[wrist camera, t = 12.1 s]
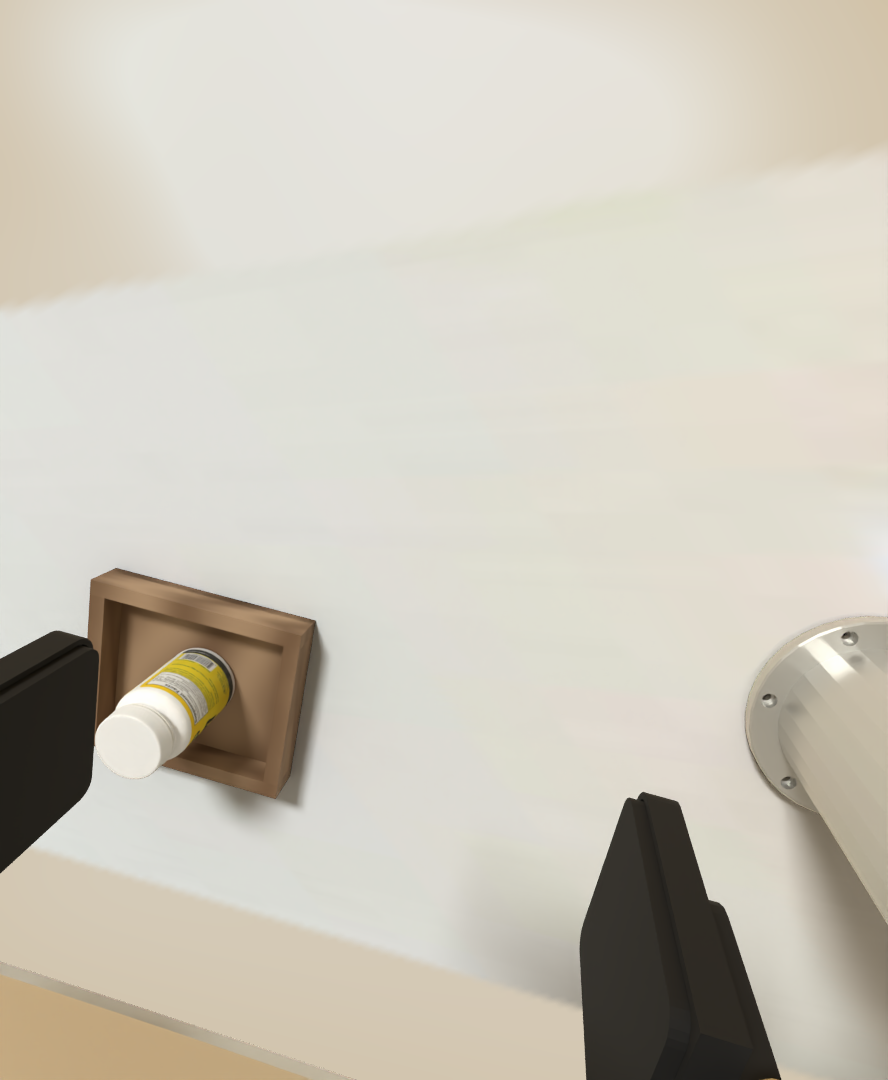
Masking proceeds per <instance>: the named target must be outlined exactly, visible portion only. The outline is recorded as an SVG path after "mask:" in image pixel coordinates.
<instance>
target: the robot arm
mask: <svg viewBox="0 0 888 1080" xmlns="http://www.w3.org/2000/svg"><path fill="white" fill-rule="evenodd" d="M846 632H847V633H846ZM844 633H846V635H844V636H842V635H843V634H844ZM98 672H99V654H98V651H96V650H95V649H93V645H92V642H91V641H90V640H89V639H87V638H84V637H80V636H76V635H73V634H69V633H65V632H62V631H53V632H50V633H48V634H46V635H45V636H43V637H41V638H39V639H37V640H35V641H33V642H31V643H29V644H28V645H26V646H24V647H22V648H20V649H18V650H16V651H14V652H12V653H10V654H9V655H7V656H5V657H3V658H1V659H0V873H1V872H2V871H3V870H5V868H7V867H8V866H9V865H10V864H11V863H12V862H13V861H14V860H15V859H16V858H17V857H19V856H20V855H21V854H22V853H23V852H24V851H25V850H26V849H27V848H28V847H30V846H31V845H32V844H33V843H34V842H35V841H36V840H37V839H38V838H39V837H40V836H42V835H43V834H44V833H45V832H46V831H47V830H48V829H49V828H50V827H51V826H52V825H54V824H55V823H56V822H57V821H58V820H59V819H60V818H61V817H62V816H63V815H64V814H66V813H67V812H68V811H69V810H70V809H71V808H72V807H73V806H74V805H75V804H76V803H77V802H79V801H80V800H81V798H82V797H83V796H84V795H85V793H86V792H87V790H88V788H89V786H90V783H91V779H92V767H93V751H94V735H95V719H96V703H97V687H98ZM766 694H768V695H767V696H765V697H763V696H764V695H766ZM745 725H746V734H747V738H748V742H749V746H750V749H751V751H752V753H753V755H754V757H755V759H756V762H757V764H758V765H759V767H760V768H761V770H762V771H763V773H764V775H765V776H766V778H767V779H768V780H769V781H770V782H771V784H772V785H773V786H774V787H775V788H776V789H777V790H778V791H779V792H780V793H782V794H783V795H785V796H786V797H787V798H789V799H790V800H792V801H793V802H795V803H796V804H798V805H800V806H802V807H804V808H806V809H809V810H811V811H813V812H815V813H818V814H820V815H821V816H822V818H823V820H824V821H825V823H826V825H827V826H828V828H829V830H830V831H831V833H832V834H833V836H834V838H835V839H836V841H837V843H838V844H839V846H840V848H841V849H842V851H843V853H844V854H845V856H846V857H847V859H848V861H849V862H850V864H851V866H852V867H853V869H854V871H855V872H856V874H857V875H858V877H859V879H860V880H861V882H862V884H863V885H864V887H865V889H866V890H867V892H868V894H869V895H870V897H871V898H872V900H873V902H874V903H875V905H876V907H877V908H878V910H879V912H880V913H881V915H882V917H883V918H884V920H885V921H886V923H887V925H888V617H875V616H865V617H855V618H845V619H842V620H838V621H834V622H830V623H826V624H823V625H821V626H818V627H816V628H814V629H811V630H809V631H807V632H805V633H802V634H801V635H799V636H798V637H796V638H795V639H793V640H792V641H790V642H789V643H787V644H786V645H784V646H783V647H782V648H781V649H780V650H779V651H778V652H777V653H776V654H775V655H774V656H773V657H772V658H771V659H770V660H769V661H768V662H767V663H766V665H765V666H764V668H763V669H762V670H761V672H760V673H759V675H758V676H757V678H756V680H755V682H754V684H753V687H752V689H751V691H750V693H749V697H748V702H747V707H746V711H745ZM580 967H581V986H582V1005H583V1024H584V1042H585V1060H586V1080H781V1077H780V1074H779V1071H778V1068H777V1065H776V1062H775V1059H774V1056H773V1052H772V1049H771V1046H770V1043H769V1040H768V1037H767V1034H766V1031H765V1028H764V1025H763V1022H762V1019H761V1016H760V1013H759V1010H758V1007H757V1004H756V1000H755V997H754V994H753V991H752V988H751V985H750V982H749V979H748V976H747V973H746V970H745V967H744V964H743V961H742V958H741V955H740V952H739V948H738V945H737V942H736V939H735V936H734V933H733V930H732V927H731V924H730V921H729V918H728V915H727V913H726V911H725V909H724V907H723V906H722V905H721V904H720V903H718V902H714V901H711V900H708V897H707V894H706V890H705V887H704V884H703V880H702V877H701V874H700V870H699V867H698V864H697V860H696V857H695V854H694V850H693V847H692V844H691V840H690V837H689V834H688V830H687V827H686V824H685V820H684V817H683V814H682V810H681V807H680V805H679V803H678V802H677V801H674V800H670V799H667V798H663V797H659V796H656V795H652V794H649V793H645V792H642V793H641V794H640V795H639V797H638V799H637V800H636V799H632V798H627V800H626V801H625V803H624V806H623V809H622V812H621V815H620V818H619V821H618V823H617V826H616V829H615V832H614V835H613V838H612V841H611V844H610V847H609V850H608V853H607V856H606V859H605V861H604V864H603V867H602V870H601V873H600V876H599V879H598V882H597V885H596V888H595V891H594V894H593V897H592V899H591V902H590V905H589V908H588V911H587V914H586V917H585V920H584V923H583V927H582V931H581V937H580ZM0 1080H355V1079H352V1078H349V1077H346V1076H343V1075H340V1074H337V1073H334V1072H332V1071H329V1070H326V1069H322V1068H320V1067H317V1066H314V1065H311V1064H308V1063H305V1062H302V1061H299V1060H296V1059H293V1058H290V1057H287V1056H284V1055H281V1054H278V1053H275V1052H272V1051H270V1050H267V1049H264V1048H261V1047H258V1046H255V1045H252V1044H249V1043H246V1042H243V1041H240V1040H237V1039H234V1038H231V1037H228V1036H225V1035H222V1034H219V1033H216V1032H213V1031H210V1030H207V1029H203V1028H201V1027H197V1026H195V1025H192V1024H188V1023H186V1022H183V1021H180V1020H177V1019H174V1018H171V1017H168V1016H165V1015H161V1014H158V1013H156V1012H153V1011H150V1010H147V1009H144V1008H141V1007H138V1006H135V1005H132V1004H128V1003H126V1002H123V1001H120V1000H116V999H113V998H110V997H107V996H104V995H101V994H98V993H95V992H92V991H89V990H86V989H83V988H80V987H77V986H74V985H71V984H68V983H65V982H62V981H59V980H56V979H53V978H50V977H47V976H44V975H41V974H38V973H35V972H32V971H28V970H25V969H22V968H19V967H16V966H13V965H10V964H7V963H4V962H1V961H0Z"/></svg>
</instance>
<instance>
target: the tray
mask: <svg viewBox="0 0 888 1080" xmlns="http://www.w3.org/2000/svg"><path fill="white" fill-rule="evenodd" d="M314 627H315V620H311V619H307V618H304V617H300V616H296V615H292V614H288V613H285V612H281V611H277V610H273V609H269V608H266V607H262V606H258V605H254V604H250V603H247V602H243V601H239V600H235V599H231V598H228V597H224V596H220V595H216V594H213V593H209V592H205V591H201V590H197V589H194V588H190V587H186V586H182V585H178V584H175V583H171V582H167V581H163V580H159V579H156V578H152V577H148V576H144V575H140V574H137V573H133V572H129V571H125V570H122V569H118V568H115V569H113V570H111V571H109V572H107V573H104V574H102V575H100V576H98V577H96V578H93V579H91V585H90V603H89V621H88V638H87V639H89V640H90V641H91V642H92V645H93V649H95V650H96V651H98V654H99V672H98V687H97V703H96V719H95V735H96V731H97V729H98V727H99V725H100V724H101V723H102V722H103V721H104V720H105V719H106V718H107V717H108V716H109V715H111V714H112V713H113V712H114V711H115V709H116V707H117V705H118V703H119V702H120V700H121V699H122V698H123V697H124V696H125V695H126V694H127V693H128V692H130V691H131V690H132V689H134V688H135V687H136V686H138V685H139V684H140V683H142V682H143V681H144V680H145V679H147V678H148V677H149V676H151V675H152V674H153V673H154V672H156V671H157V670H158V669H159V668H161V667H162V666H163V665H164V664H166V663H167V662H168V661H169V660H171V659H172V658H173V657H175V656H176V655H177V654H179V653H180V652H182V651H184V650H187V649H190V648H204V649H208V650H210V651H213V652H215V653H216V654H218V655H219V656H220V657H222V658H223V659H224V660H225V662H226V663H227V664H228V665H229V667H230V669H231V670H232V673H233V676H234V680H235V690H234V694H233V696H232V698H231V700H230V702H229V703H228V704H227V705H226V706H225V707H224V708H223V710H222V711H221V712H220V713H219V714H218V715H217V716H216V717H215V718H214V719H213V720H212V721H211V722H210V723H209V724H208V725H207V726H206V727H205V729H204V730H203V731H202V732H201V733H200V734H199V735H198V736H197V737H196V738H195V739H194V740H193V741H192V742H191V743H190V744H189V745H188V747H187V748H186V749H185V750H184V751H183V752H182V753H180V754H179V755H178V756H176V757H174V758H172V759H170V760H167V761H166V762H165V763H164V764H163V765H162V766H165V767H168V768H172V769H175V770H179V771H182V772H186V773H189V774H192V775H196V776H199V777H203V778H206V779H209V780H213V781H216V782H220V783H223V784H227V785H230V786H233V787H237V788H240V789H244V790H247V791H250V792H254V793H257V794H261V795H264V796H268V797H271V798H274V799H276V797H277V796H278V794H279V792H280V791H281V789H282V788H283V786H284V785H285V783H286V781H287V780H288V778H289V777H290V772H291V766H292V760H293V754H294V748H295V742H296V736H297V730H298V724H299V718H300V712H301V706H302V700H303V694H304V687H305V681H306V675H307V669H308V663H309V657H310V651H311V645H312V639H313V633H314ZM95 735H94V746H95Z"/></svg>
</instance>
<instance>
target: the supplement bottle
mask: <svg viewBox="0 0 888 1080" xmlns="http://www.w3.org/2000/svg"><path fill="white" fill-rule="evenodd" d="M234 690H235V680H234V676H233V673H232V670H231V669H230V667H229V665H228V664H227V663H226V662H225V660H224V659H223V658H222V657H220V656H219V655H218V654H216V653H215V652H213V651H210V650H208V649H204V648H190V649H187V650H184V651H182V652H180V653H179V654H177V655H176V656H175V657H173V658H172V659H171V660H169V661H168V662H167V663H166V664H164V665H163V666H162V667H161V668H159V669H158V670H157V671H156V672H154V673H153V674H152V675H151V676H149V677H148V678H147V679H145V680H144V681H143V682H142V683H140V684H139V685H138V686H136V687H135V688H134V689H132V690H131V691H130V692H128V693H127V694H126V695H125V696H124V697H123V698H122V699H121V700H120V702H119V703H118V705H117V707H116V709H115V711H114V712H113V713H112V714H111V715H109V716H108V717H107V718H106V719H105V720H104V721H103V722H102V723H101V724H100V725H99V727H98V729H97V731H96V735H95V746H96V750H97V753H98V755H99V757H100V759H101V760H102V762H103V763H104V764H105V765H106V767H108V768H109V769H110V770H111V771H112V772H114V773H115V774H117V775H119V776H122V777H125V778H129V779H141V778H145V777H147V776H149V775H151V774H152V773H154V772H155V771H156V770H157V769H158V768H159V767H160V766H161V765H163V764H164V763H165V762H166V761H167V760H170V759H172V758H174V757H176V756H178V755H179V754H180V753H182V752H183V751H184V750H185V749H186V748H187V747H188V745H189V744H190V743H191V742H192V741H193V740H194V739H195V738H196V737H197V736H198V735H199V734H200V733H201V732H202V731H203V730H204V729H205V727H206V726H207V725H208V724H209V723H210V722H211V721H212V720H213V719H214V718H215V717H216V716H217V715H218V714H219V713H220V712H221V711H222V710H223V708H224V707H225V706H226V705H227V704H228V703H229V702H230V700H231V698H232V696H233V694H234Z"/></svg>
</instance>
